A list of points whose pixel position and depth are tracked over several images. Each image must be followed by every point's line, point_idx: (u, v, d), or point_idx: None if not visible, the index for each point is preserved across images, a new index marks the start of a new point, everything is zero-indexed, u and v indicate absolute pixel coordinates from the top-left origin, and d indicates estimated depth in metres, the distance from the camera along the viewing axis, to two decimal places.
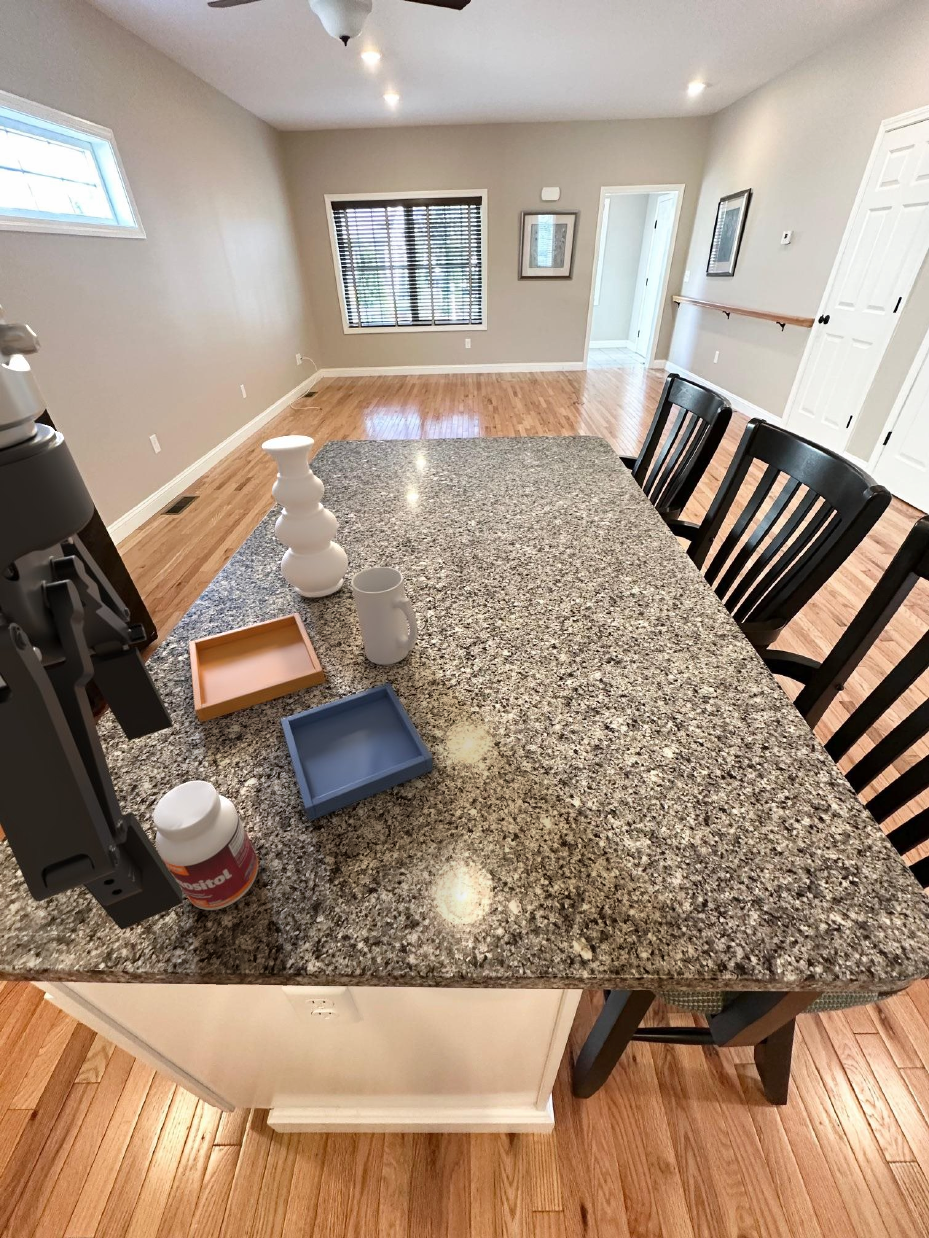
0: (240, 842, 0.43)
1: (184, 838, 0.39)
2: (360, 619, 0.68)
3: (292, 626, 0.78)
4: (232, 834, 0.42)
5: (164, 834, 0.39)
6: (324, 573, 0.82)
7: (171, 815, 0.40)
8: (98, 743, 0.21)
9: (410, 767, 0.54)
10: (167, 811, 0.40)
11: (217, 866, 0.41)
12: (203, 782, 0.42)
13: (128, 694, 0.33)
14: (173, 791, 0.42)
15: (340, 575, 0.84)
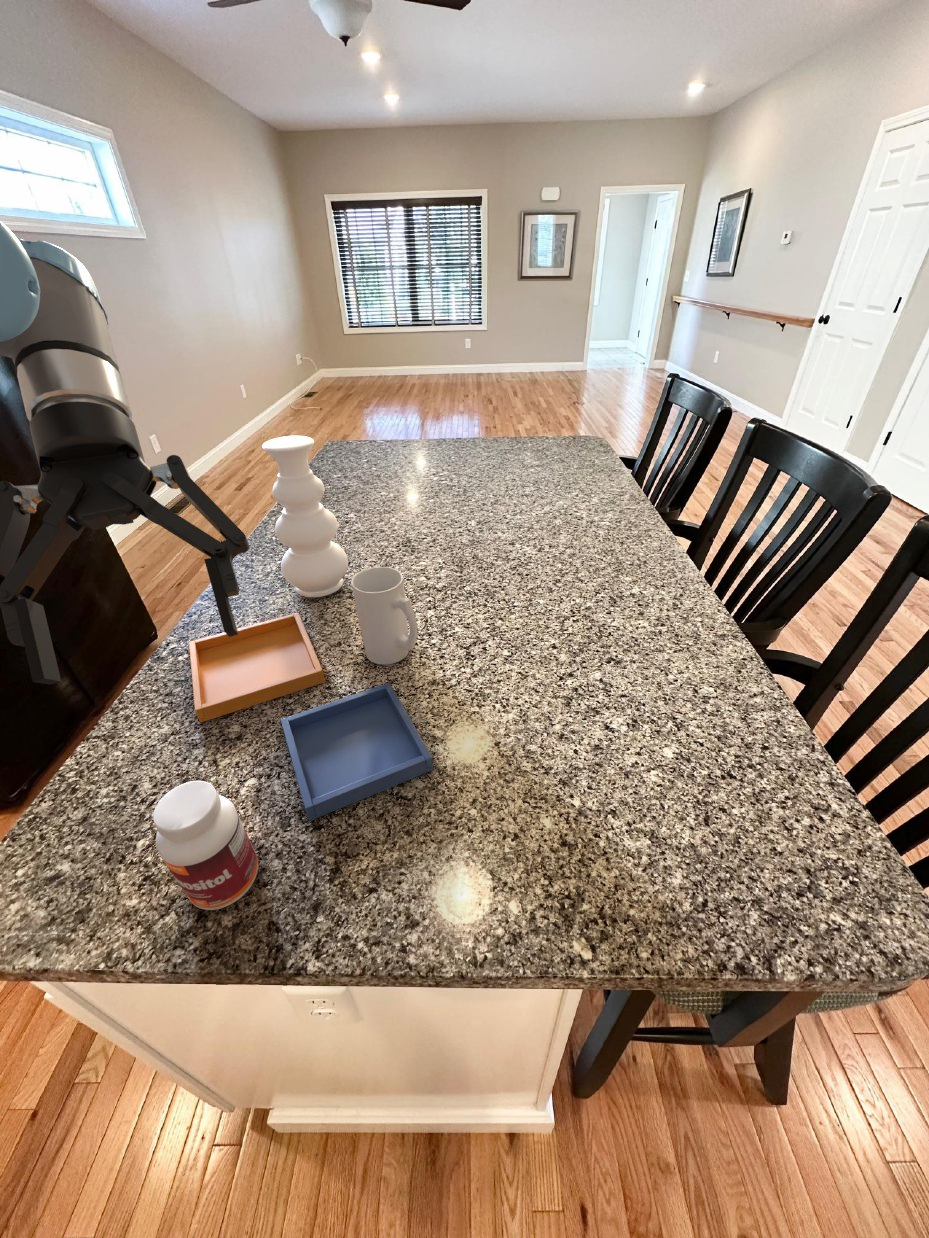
0: (240, 842, 0.43)
1: (184, 838, 0.39)
2: (360, 619, 0.68)
3: (292, 626, 0.78)
4: (232, 834, 0.42)
5: (164, 834, 0.39)
6: (324, 573, 0.82)
7: (171, 815, 0.40)
8: None
9: (410, 767, 0.54)
10: (167, 811, 0.40)
11: (217, 866, 0.41)
12: (203, 782, 0.42)
13: (42, 635, 0.40)
14: (173, 791, 0.42)
15: (340, 575, 0.84)
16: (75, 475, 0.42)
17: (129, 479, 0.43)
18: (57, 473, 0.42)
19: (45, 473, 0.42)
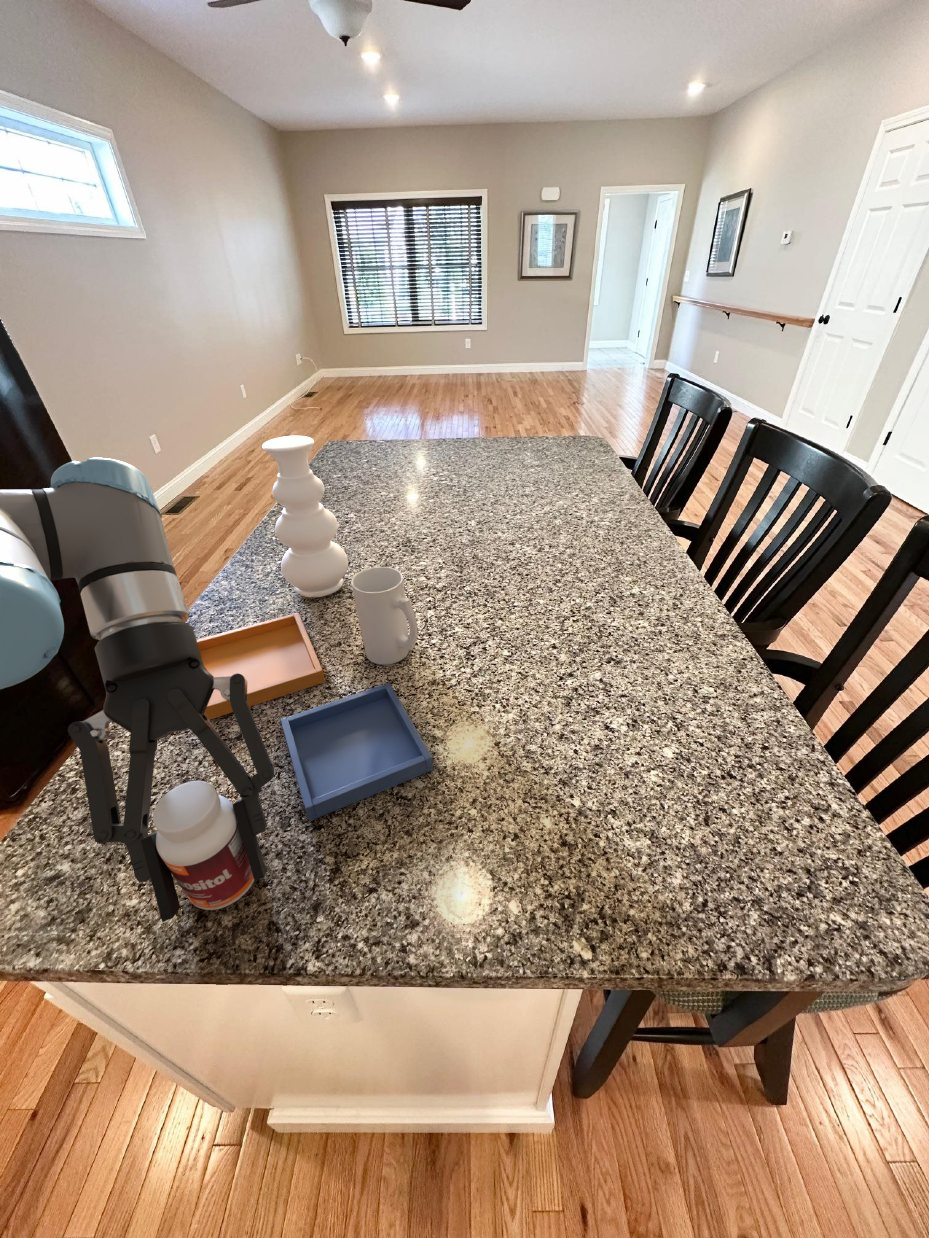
0: (240, 842, 0.43)
1: (183, 838, 0.39)
2: (360, 619, 0.68)
3: (292, 626, 0.78)
4: (231, 834, 0.42)
5: (164, 834, 0.39)
6: (324, 573, 0.82)
7: (171, 815, 0.40)
8: None
9: (410, 767, 0.54)
10: (167, 811, 0.40)
11: (217, 866, 0.41)
12: (203, 782, 0.42)
13: (164, 867, 0.42)
14: (173, 791, 0.42)
15: (340, 575, 0.84)
16: (140, 692, 0.43)
17: (192, 690, 0.44)
18: (122, 692, 0.43)
19: (111, 693, 0.42)
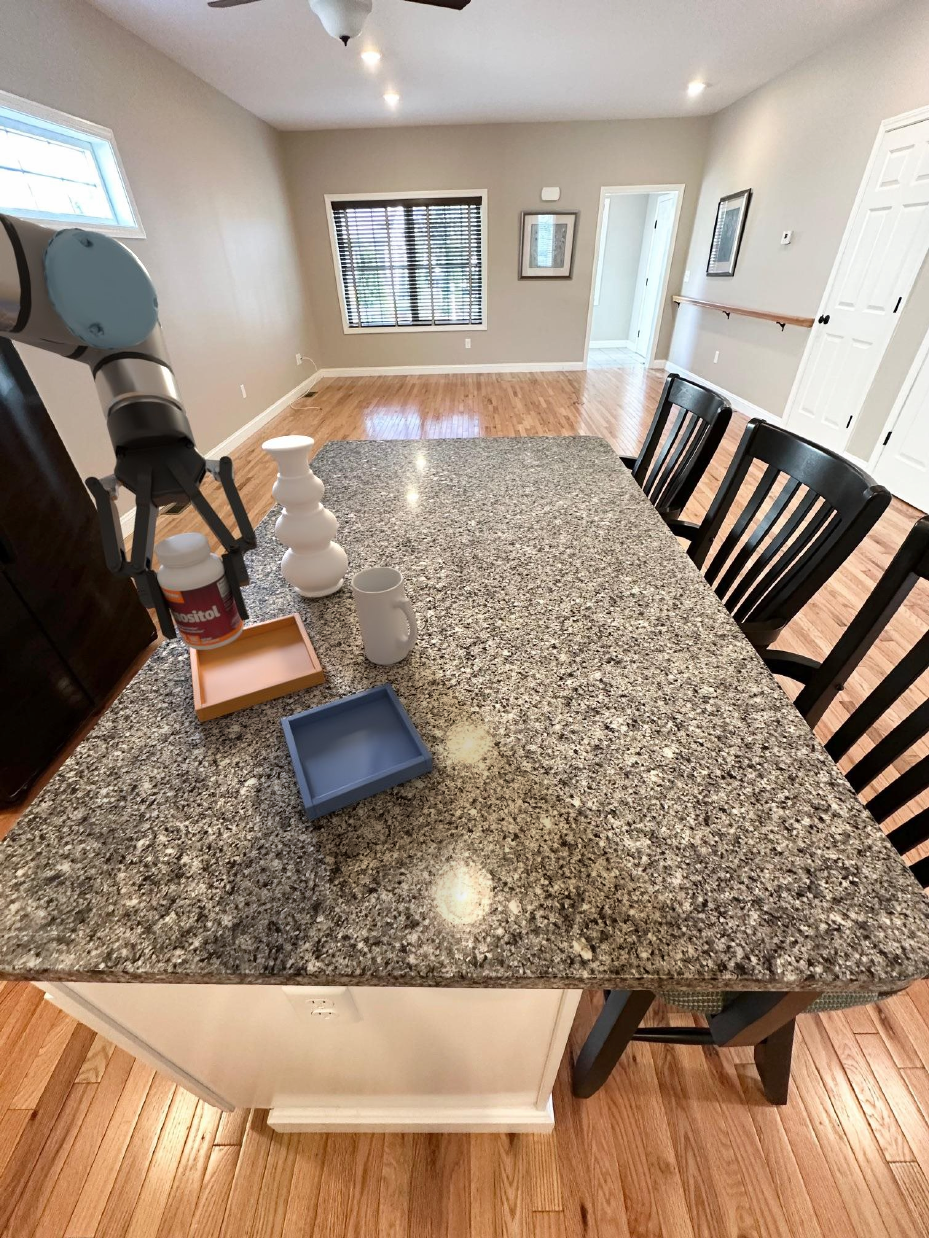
0: (227, 588, 0.52)
1: (179, 563, 0.48)
2: (360, 619, 0.68)
3: (292, 626, 0.78)
4: (220, 575, 0.51)
5: (163, 559, 0.48)
6: (324, 573, 0.82)
7: (169, 547, 0.48)
8: None
9: (410, 767, 0.54)
10: (166, 546, 0.49)
11: (207, 598, 0.50)
12: (196, 533, 0.51)
13: (164, 600, 0.50)
14: (171, 537, 0.50)
15: (340, 575, 0.84)
16: (144, 461, 0.52)
17: (187, 465, 0.53)
18: (130, 460, 0.51)
19: (120, 460, 0.51)
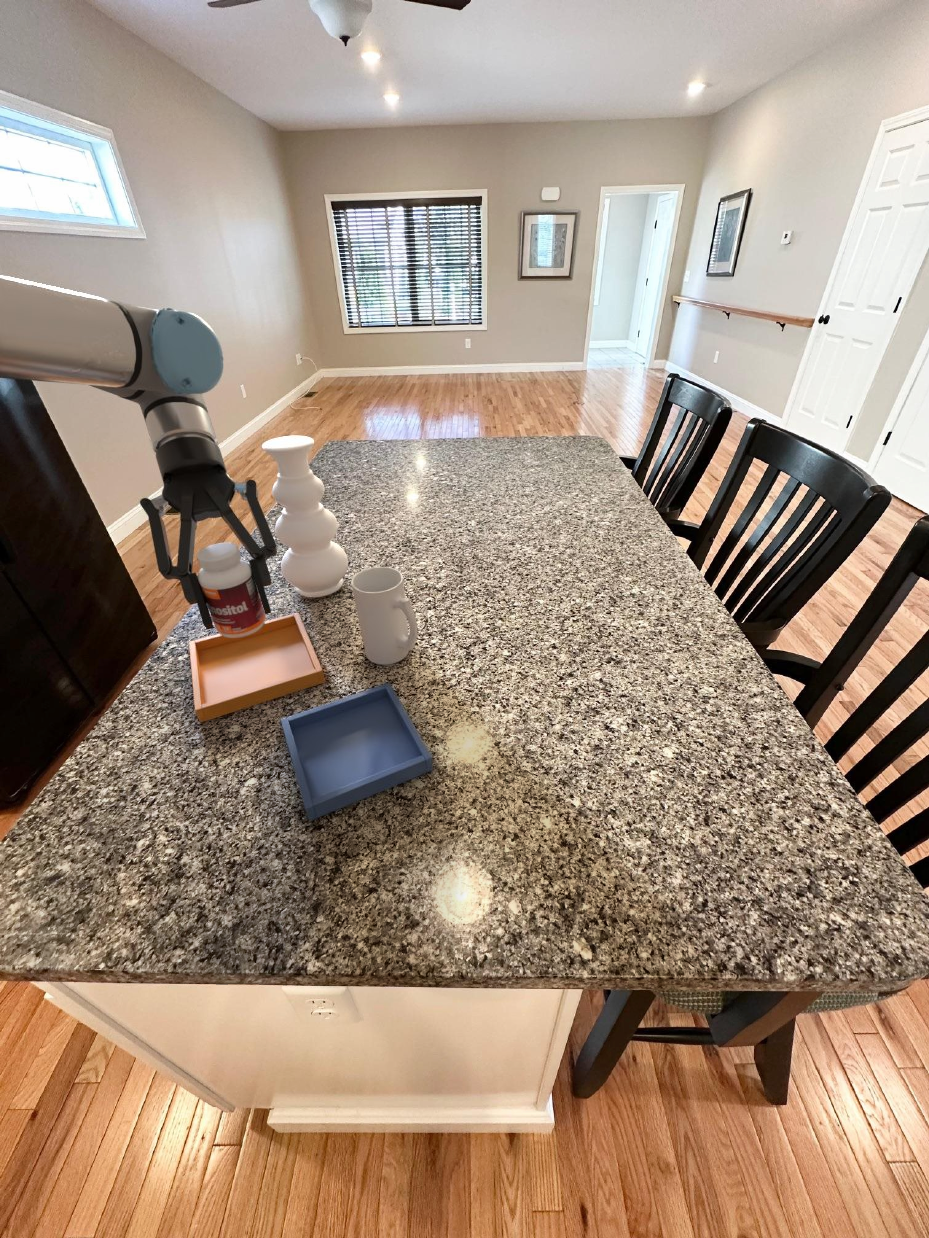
0: (253, 588, 0.64)
1: (217, 568, 0.60)
2: (360, 619, 0.68)
3: (292, 626, 0.78)
4: (248, 577, 0.63)
5: (204, 564, 0.60)
6: (324, 573, 0.82)
7: (209, 555, 0.60)
8: None
9: (410, 767, 0.54)
10: (206, 554, 0.61)
11: (238, 596, 0.62)
12: (229, 543, 0.63)
13: (203, 597, 0.62)
14: (209, 546, 0.62)
15: (340, 575, 0.84)
16: (186, 485, 0.64)
17: (221, 487, 0.65)
18: (174, 483, 0.63)
19: (167, 484, 0.63)
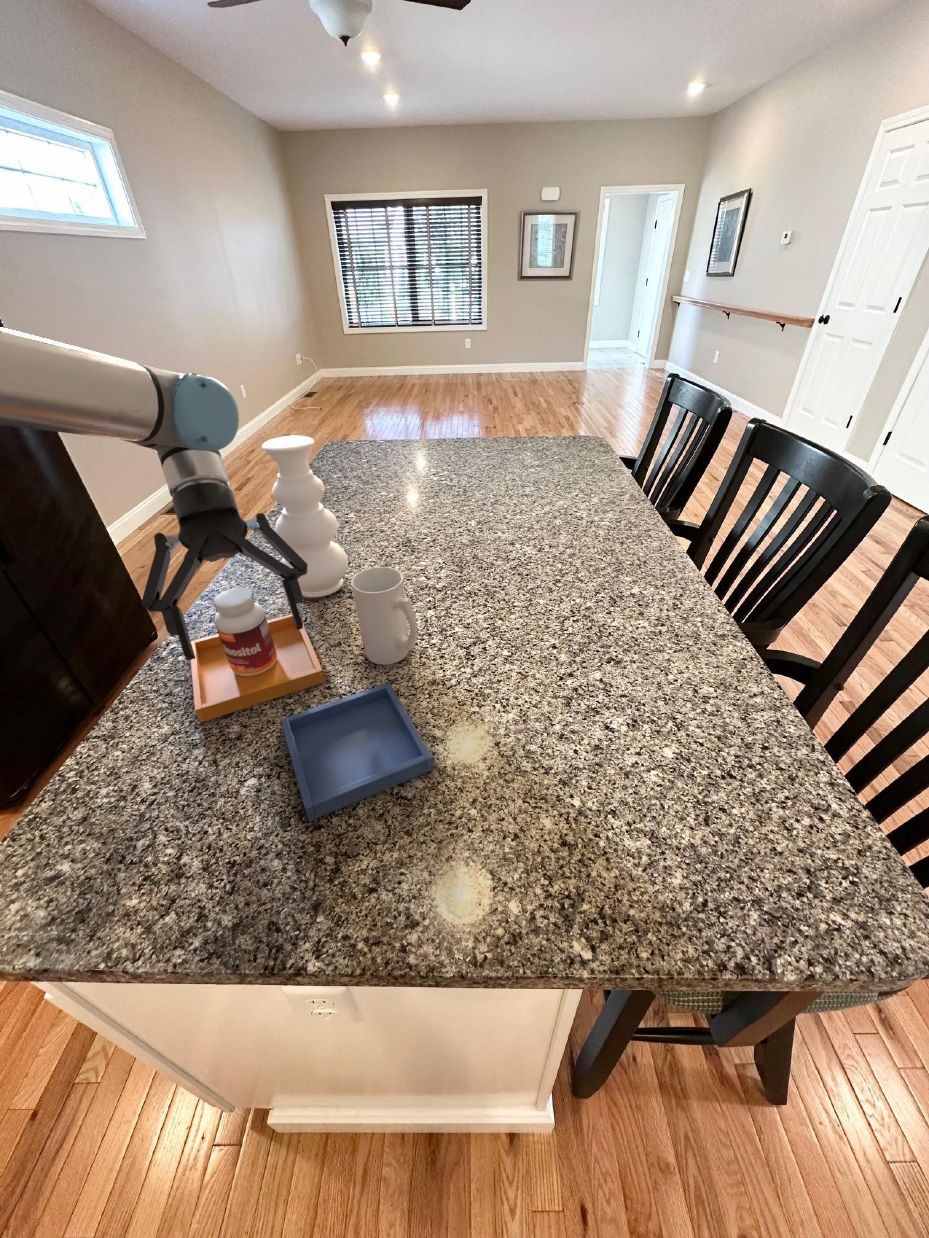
0: (266, 629, 0.68)
1: (233, 613, 0.64)
2: (360, 619, 0.68)
3: (292, 626, 0.78)
4: (261, 620, 0.66)
5: (221, 610, 0.64)
6: (324, 573, 0.82)
7: (225, 601, 0.64)
8: None
9: (410, 767, 0.54)
10: (222, 599, 0.65)
11: (252, 638, 0.66)
12: (243, 588, 0.67)
13: (185, 629, 0.65)
14: (225, 592, 0.66)
15: (340, 575, 0.84)
16: (201, 528, 0.67)
17: (233, 529, 0.68)
18: (190, 527, 0.67)
19: (183, 527, 0.66)
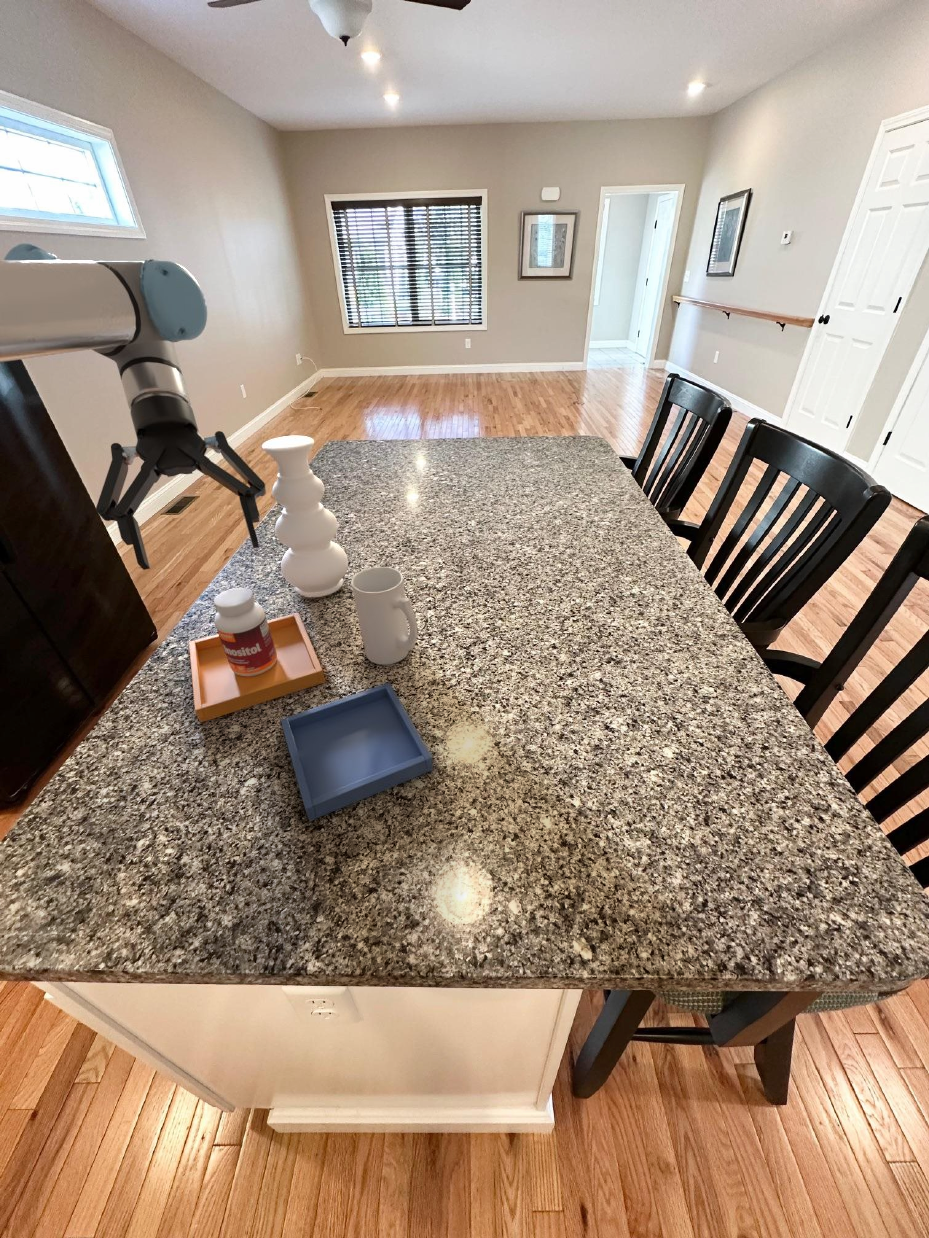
0: (266, 629, 0.68)
1: (233, 613, 0.64)
2: (360, 619, 0.68)
3: (292, 626, 0.78)
4: (261, 620, 0.66)
5: (221, 610, 0.64)
6: (324, 573, 0.82)
7: (225, 601, 0.64)
8: None
9: (410, 767, 0.54)
10: (222, 599, 0.65)
11: (252, 638, 0.66)
12: (243, 588, 0.67)
13: (140, 538, 0.66)
14: (225, 592, 0.66)
15: (340, 575, 0.84)
16: (158, 441, 0.68)
17: (192, 445, 0.69)
18: (148, 439, 0.67)
19: (140, 439, 0.67)
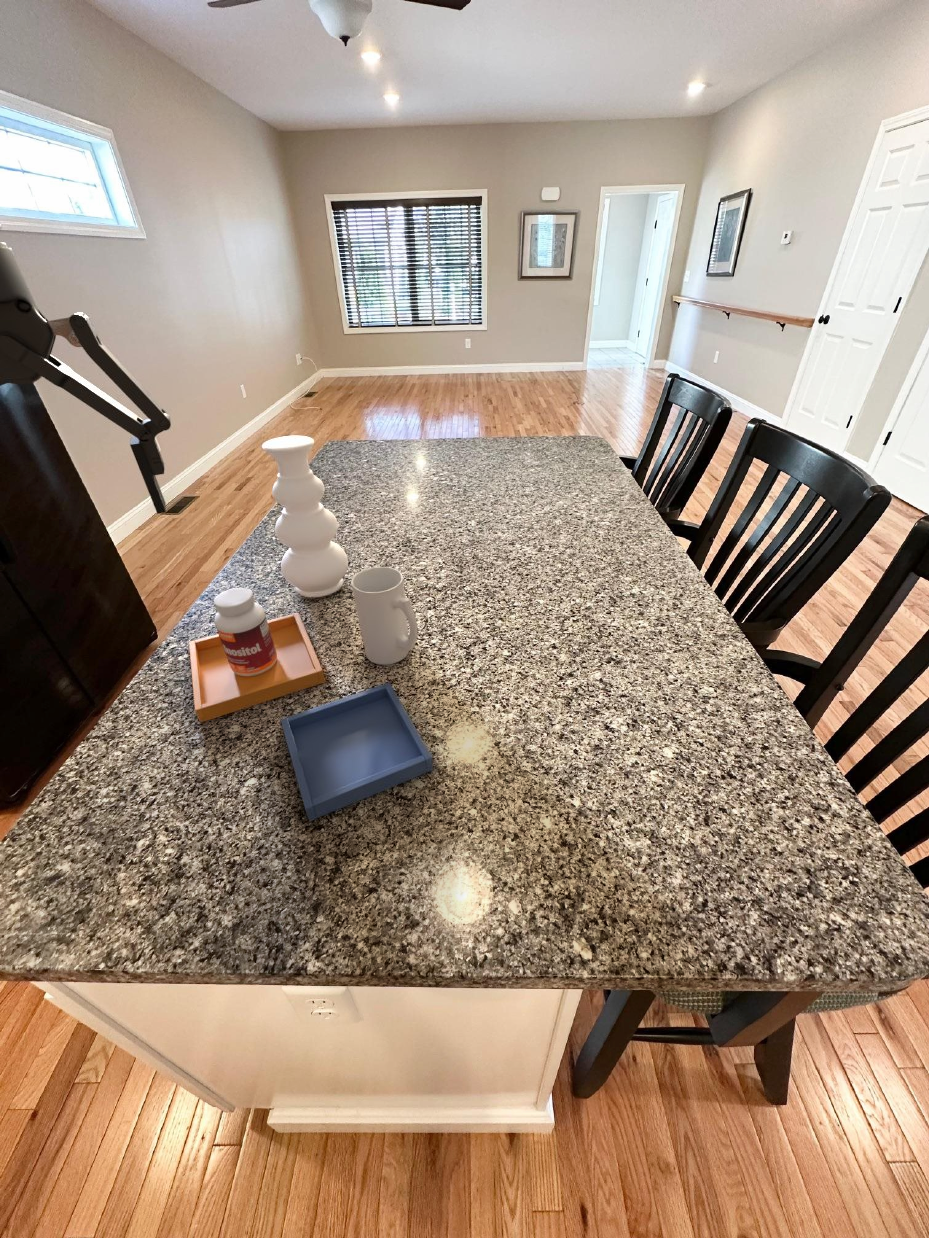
0: (266, 629, 0.68)
1: (233, 613, 0.64)
2: (360, 619, 0.68)
3: (292, 626, 0.78)
4: (261, 620, 0.66)
5: (221, 610, 0.64)
6: (324, 573, 0.82)
7: (225, 601, 0.64)
8: None
9: (410, 767, 0.54)
10: (222, 599, 0.65)
11: (252, 638, 0.66)
12: (243, 588, 0.67)
13: None
14: (225, 592, 0.66)
15: (340, 575, 0.84)
16: None
17: (28, 341, 0.39)
18: None
19: None
